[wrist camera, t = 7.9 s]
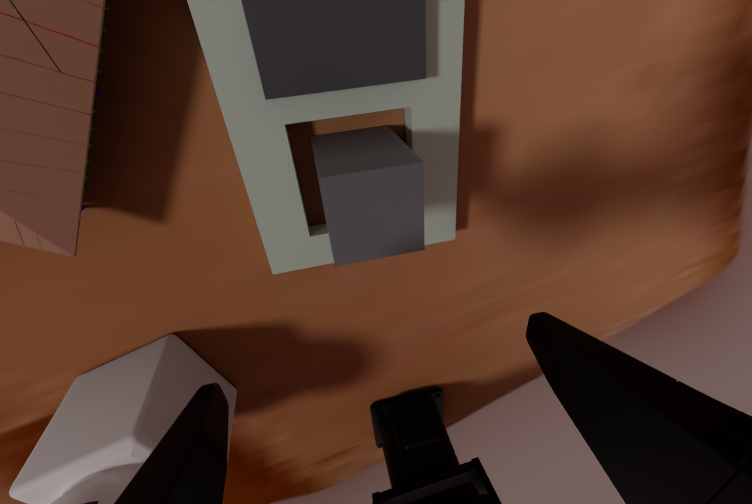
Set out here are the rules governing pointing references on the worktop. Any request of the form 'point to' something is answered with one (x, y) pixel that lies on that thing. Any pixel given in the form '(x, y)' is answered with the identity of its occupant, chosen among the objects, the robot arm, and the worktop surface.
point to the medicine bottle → (114, 424)
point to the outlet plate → (333, 97)
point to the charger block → (370, 193)
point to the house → (46, 118)
